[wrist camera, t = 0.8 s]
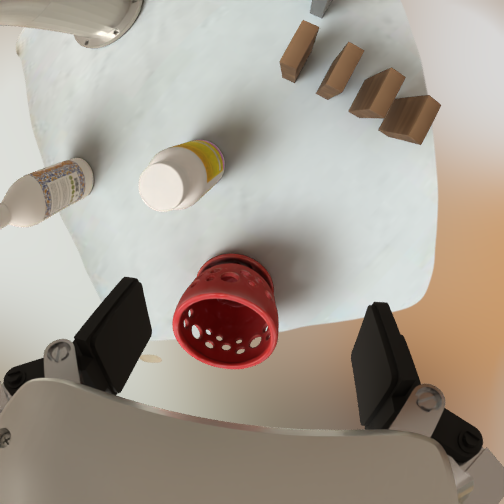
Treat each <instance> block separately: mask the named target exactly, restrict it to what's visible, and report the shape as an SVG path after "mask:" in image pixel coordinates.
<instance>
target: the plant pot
mask: <svg viewBox="0 0 504 504" xmlns="http://www.w3.org/2000/svg"><path fill="white" fill-rule="evenodd" d="M273 294H274V287H273V282H272V279H271V277H270V275H269V273H268V272H267V270H266V269H265V268H264V267H263V266H262V265H261V264H260V263H258V262H257V261H255V260H254V259H252V258H250V257H247V256H244V255H240V254H223V255H219V256H216V257H214V258H212V259H210V260H209V261H207V262H206V263H205V264H204V265H203V266H202V267H201V269H200V270H199V272H198V274H197V277H196V278H195V280H194V281H193V282H192V283H191V285H190V286H189V287H188V288H187V290H186V291H185V292H184V294H183V295H182V297H181V299H180V301H179V303H178V305H177V307H176V310H175V313H174V316H173V331H174V335H175V337H176V339H177V341H178V342H179V344H180V345H181V347H182V348H183V349H184V350H185V351H186V352H187V353H188V354H190V355H191V356H192V357H194V358H195V359H197V360H199V361H201V362H203V363H205V364H208V365H211V366H214V367H219V368H225V369H244V368H248V367H252V366H255V365H257V364H259V363H261V362H263V361H264V360H266V359H267V358H268V357H269V356H270V355H271V354H272V352H273V350H274V349H275V347H276V344H277V340H278V325H279V322H278V312H277V308H276V304H275V299H274V295H273ZM189 310H190V311H191V316H190V317H189V315H188V312H189ZM184 320H185V324H186V325H185V327H184ZM193 325H195V326H196V327H197V328H198V330H199V332H200V337H199V339H196V338H195V337H194V336H193V334H192V326H193ZM267 326H268V329H267V331H266V332H265V330H266V327H267ZM206 330H209V331H210V332H211V335H208V334H207V333H206ZM217 336H220V337H222V340H221V341H218V340H217V339H216V337H217ZM269 336H270V337H269ZM257 337H261V342H260V344H259V345H258V346H257V347H254V348H252V347H250V343H251V342H252V340H253V339H255V338H257ZM237 340H242V342H241V343H239V344H237V343H236V341H237ZM206 342H209V343H211V344H212V345H213V348H208V347H207V346H206V345H205V343H206ZM223 345H229V346H230V347H231V348H230V349H229V350H223V349H222V346H223ZM239 349H245V351H244V352H243V353H241V354H237V351H238V350H239Z"/></svg>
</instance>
